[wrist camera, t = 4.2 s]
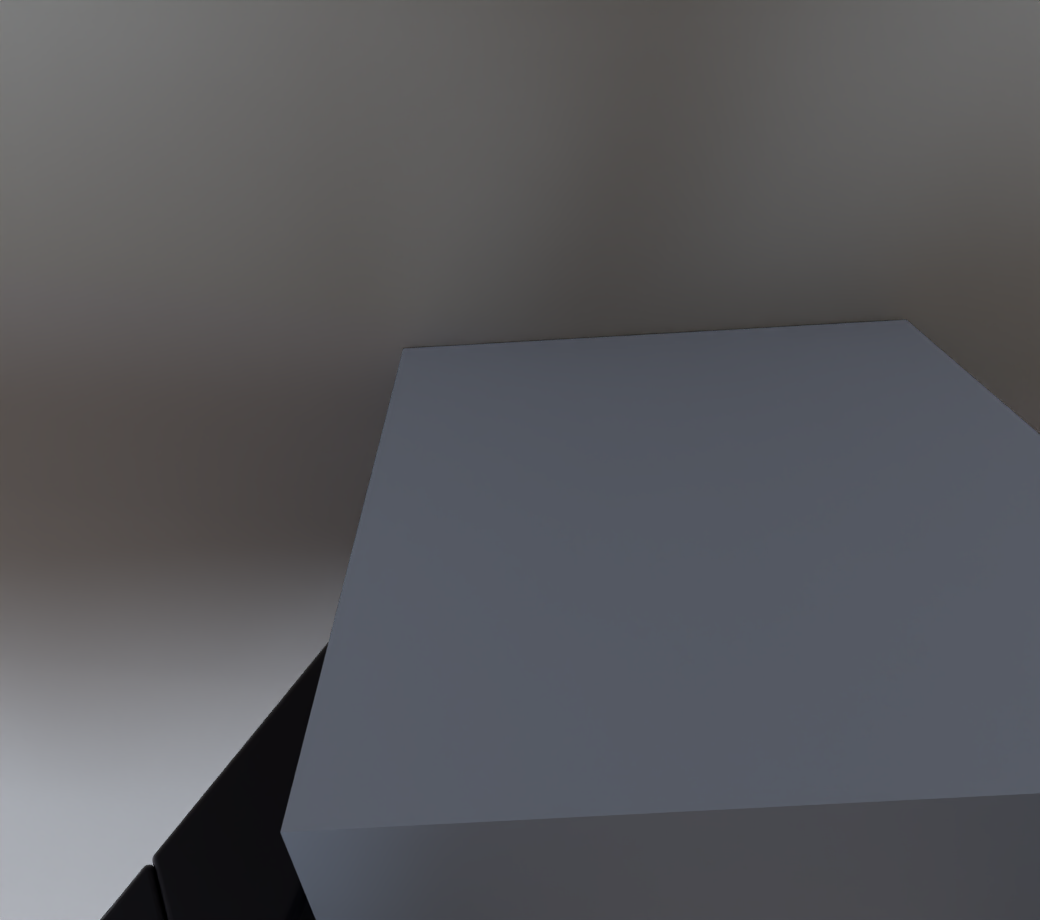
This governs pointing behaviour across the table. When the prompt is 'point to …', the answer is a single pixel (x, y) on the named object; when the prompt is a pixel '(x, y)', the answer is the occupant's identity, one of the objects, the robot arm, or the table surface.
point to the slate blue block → (684, 639)
